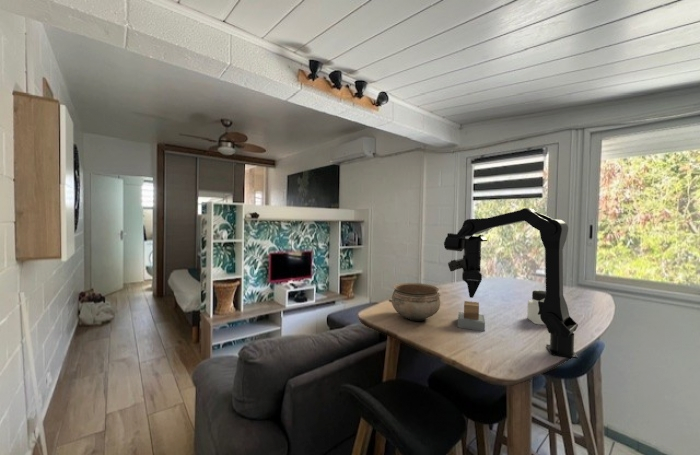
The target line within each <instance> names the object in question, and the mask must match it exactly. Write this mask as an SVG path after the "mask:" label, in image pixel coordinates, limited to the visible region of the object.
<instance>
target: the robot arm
mask: <svg viewBox="0 0 700 455" xmlns="http://www.w3.org/2000/svg"><path fill="white" fill-rule="evenodd" d="M523 222H526V223H527V224H528V225H530V226H531V227H532V228H534V229H535V230H537V231H539V235H540V241H541V242H542V244H543V247H544V250H545V252H544V253H545V254H544V255H545V261H544V262H545V263H544V264H545V291H546V296H545V298H544V299H542V300H540V301H538V306H539V312H538V315H540V318H541V320H542V322H544V324H546V325H545V326H546V329H547V332H548V334H550V337H549V344H547V343H546V345H545V347H546V348H547V350H548V351H549V354H551V356H559V357H565V358H572V359H579V356H578V355H577V353H576V352H575V351H574V350H575V333H574V332H575V331H577V328H578V327H579V324H578V323H577V322H576V321H575V319H573V318H572V317H571V315H570V312H569V309H568V304H567V301H566V299H565V296H564V259H563V257H564V255H563V254H564V250H563V249H564V246H565V244H566V241H567V237H568V232H569V226H568V224H567V223H566V222H565V221H564V220H562V219H556V218H554V219H553V218H552V217H549V216H548V215H547V216H546V215H545V214H543V213H541V212H539V211H536V210H535V209H533V208H529V207H527V208H526V207H525V208H522V209H519V210H514V211H510V212H507V213H502V214H499V215H494V216H490V217H485V218H483V217H482V218H467V219H466V220H464V221H463V223H462V227H461V228H460V229H459V230H458V232H457V233H452V232H450V233H447V236H446V237H445V239H444V242H443V246H444V249H445V250H446V251H451V252H452V251H453V252H463V255H462V258H459V259H451V260H450V261H448V262H447V265H448V268H449V271H450V272H454V271H456V270H457V271H458V270H460V269H462V276H461V278H462V280H463V282H465V283H466V285H467V290H468V295H469V296H468V297H469V298H471V299H472V298H474V297H475V294H476V292H477V290H478V288H479V286H480V285H481V283H482V281H483V280H482V278H483V277H482V276H483V275H482V271H481V270H482V269H481V267H482V266H481V264H482V262H481V261H482V243H483V242H487V241H488V238H486V237H485V236H484V235H483V234H482V233H485V232H488V231H489V230H492V229H494V228H498V227H504V226H508V225H513V224H518V223H523ZM474 235H476V236H474ZM477 235H478V236H477ZM466 237H468V238H466Z"/></svg>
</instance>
